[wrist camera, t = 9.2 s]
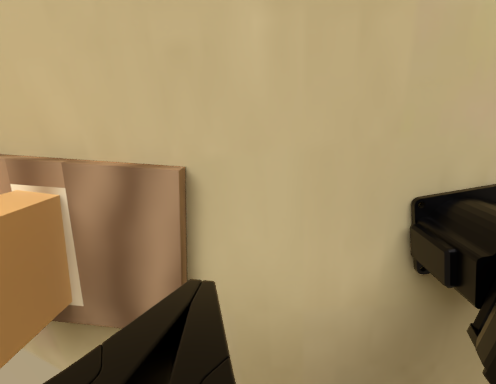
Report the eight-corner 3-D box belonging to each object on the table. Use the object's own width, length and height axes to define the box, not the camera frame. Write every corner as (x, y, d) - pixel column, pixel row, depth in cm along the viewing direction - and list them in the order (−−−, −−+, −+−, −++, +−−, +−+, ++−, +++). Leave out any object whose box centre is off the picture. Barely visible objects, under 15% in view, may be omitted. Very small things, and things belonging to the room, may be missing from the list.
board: (185, 166, 20) (178, 170, 18) (187, 321, 24) (182, 334, 22) (-62, 150, 21) (-87, 152, 19) (-19, 300, 25) (-36, 311, 24)
